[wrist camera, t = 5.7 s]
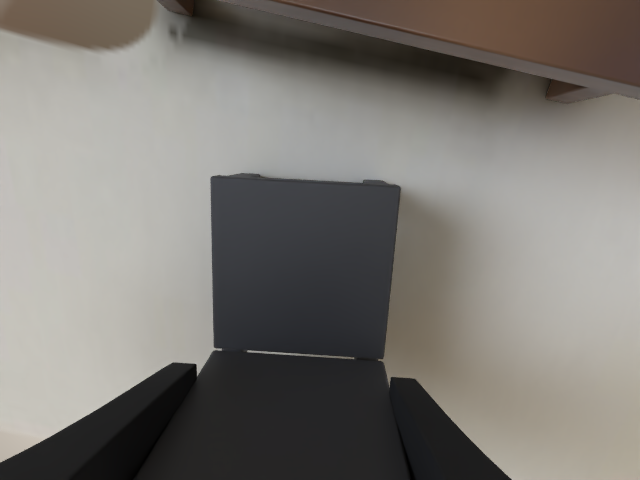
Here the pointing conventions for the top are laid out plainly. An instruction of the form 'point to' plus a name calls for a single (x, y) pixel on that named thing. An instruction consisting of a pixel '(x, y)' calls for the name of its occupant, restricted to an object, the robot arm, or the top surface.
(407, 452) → the robot arm
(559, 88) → the brown toy table
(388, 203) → the chair
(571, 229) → the top surface
